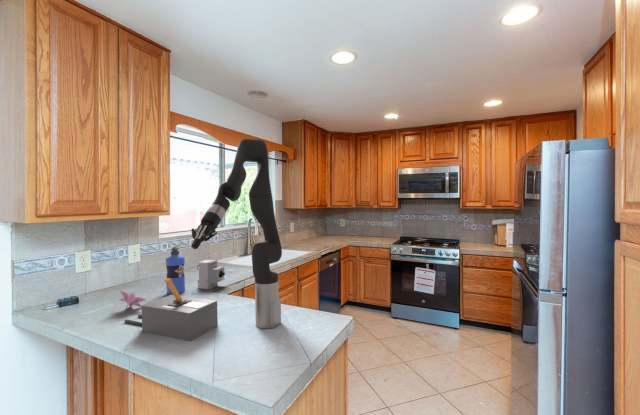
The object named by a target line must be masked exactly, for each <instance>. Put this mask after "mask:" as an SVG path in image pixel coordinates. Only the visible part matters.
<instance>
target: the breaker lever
mask: <svg viewBox="0 0 640 415" xmlns="http://www.w3.org/2000/svg"><path fill="white" fill-rule="evenodd" d="M164 282H165V284H166V286H167V285H168V287H169V288H170V290H171V292H172V293H173V295H174V297H175V298H176V300H177V302H180V301H181V300H183V299H182V298H181V296H182V295H181V294H179V293H178V291H177V289H176V287H175V286H174V284H173V281H172V280H171V278H167V277H166V278H165V279H164Z"/></svg>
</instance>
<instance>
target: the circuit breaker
mask: <svg viewBox="0 0 640 415" xmlns="http://www.w3.org/2000/svg"><path fill="white" fill-rule="evenodd" d="M196 266H197V267H196V268H197V270H198V279H197V289H201V290H202V289H203V290H204V289H205V290H211V289H214V288H215V287H217V286H219V282H222V281H224V280H225V275H226V272H225V267H224V266H218V260H217V259H203V260H200V261H198V262H197V265H196Z"/></svg>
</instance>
